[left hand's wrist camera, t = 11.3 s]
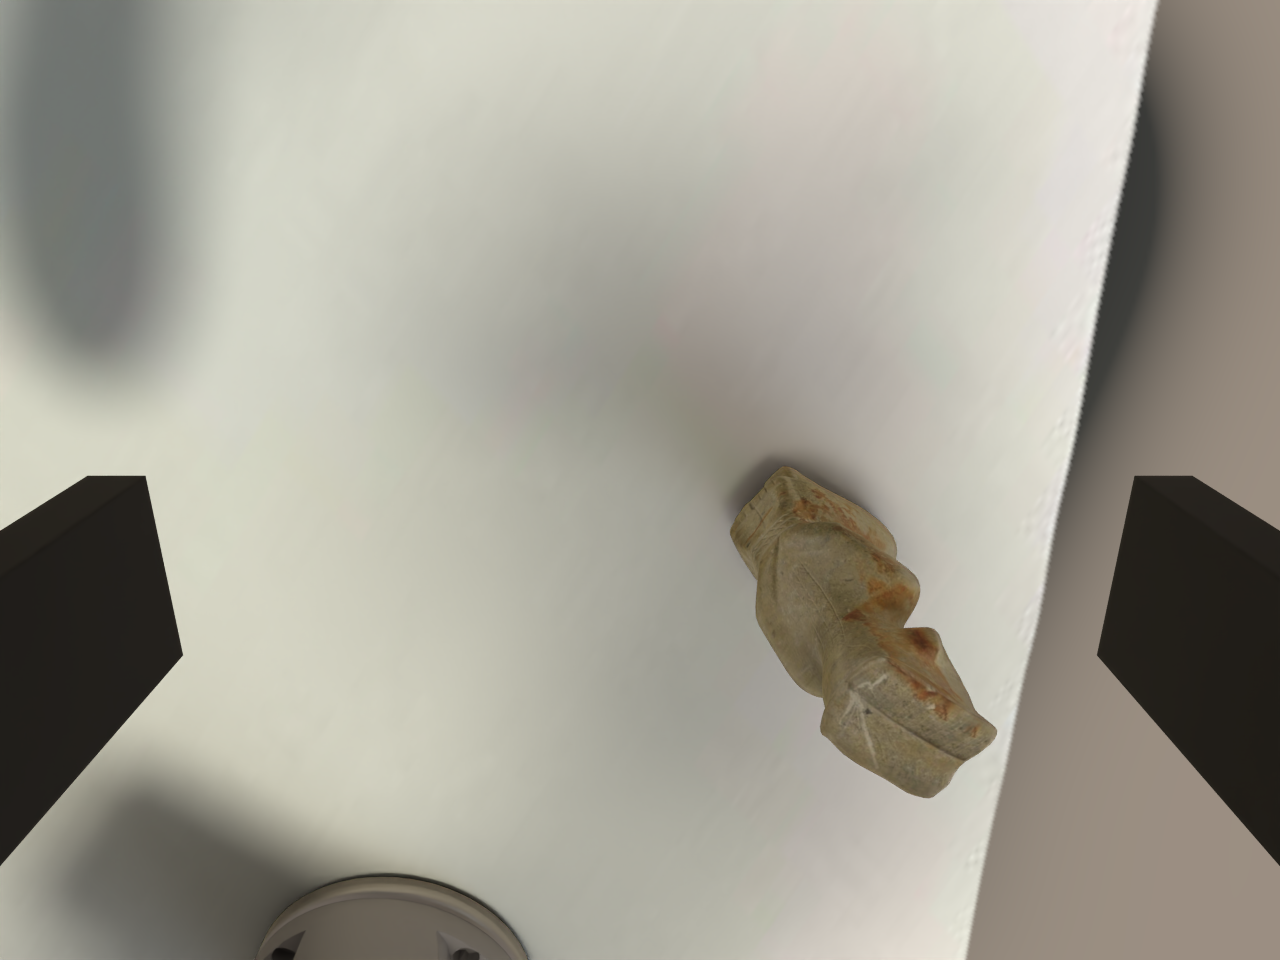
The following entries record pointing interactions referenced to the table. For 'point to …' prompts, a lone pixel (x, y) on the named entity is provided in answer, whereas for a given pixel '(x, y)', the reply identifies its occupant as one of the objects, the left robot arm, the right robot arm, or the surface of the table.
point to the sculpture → (856, 634)
